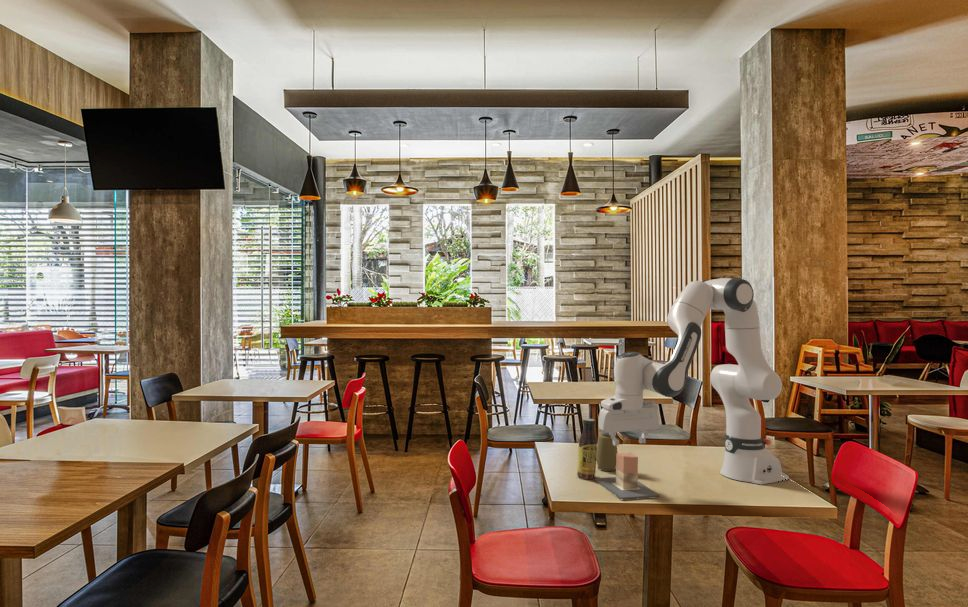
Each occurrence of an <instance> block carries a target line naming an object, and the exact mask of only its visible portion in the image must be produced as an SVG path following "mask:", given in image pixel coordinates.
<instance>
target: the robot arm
mask: <svg viewBox="0 0 968 607" xmlns="http://www.w3.org/2000/svg"><path fill="white" fill-rule="evenodd" d="M754 296H755V295H754V289H753V287H752V284H751V283H750V282H749V281H748V280H746V279H744V278H738V277H733V278H730V277H720V278H714V279H704V280H701V281H700V280H693V281H690V282H689V283H688V284H686V285H685V287H684V288H683V289H682V290H681V291H680V292H679V294H678V296H677V297H676V299H675V300H674V302H673V304H672V305H671V307H670V309H669V311H668V314H667V317H666V319H667V324H668V326H669V328H670V330H672V331H673V332H674V333H675V334H676V335H677V337H678V338H677V343H676V345H675V348H674V350H673V353H672V355H671V357H670V359H669V360H668V362H666V363H661V362H656V361H654V360H651V359H649V358H647V357H645V356H644V355H642V354H641V353H640V352H637V351H625V352H623V353H621V354H619V355H618V356H617V357H616V361H615V368H614V380H615V390H614V395H613V396H611V397H610V396H609V397H607V398H605V399H603V400H601V402H600V406H601V407H602V408H601V409H600V410H599V413H598V429H599V431H600V432H601V431H602V432H604V433H609V434H610V436H611V438H612V439H613V445H614V446H617V447H619V446H620V440H619V439H618V438H617V437H616V438H615V436H617V433H623V432H624V433H625V432H636V431H637V432H638V431H641V432H642V434H641V436H639V437H638V443H639V444H641V445H642V444H643V445H644V444H646V439H647V437H648V435H649V431H650V430H658V428H659V427H660V419H659V413H658V412H659V411H658V410H659V405H658V404H657V402H655V401H654V400H644V390H648V391H649V392H653V393H657V394H660V395H661V396H664V397H667V398H674V397H676V396H678V395H679V394H681V393H682V391H683V389H684V388H685V386H686V382H687V378H688V372H689V368H690V367H691V364H692V361H693V359H694V356H695V353H696V352H697V350H698V346H699V344H700V341H701V339H702V338H701V337H702V329H701V327H702V324H703V322H704V320H705V318H706V316H707V315H708V313H709V311H710V310H714V311H715V310H716V311H722V312H723V313H724V332H725V349H726V351H727V352H728V353H729V354H730V355H732V356H733V357H734V359H735V361H736V362H737V364H732V363H726V364H724V363H723V364H718V365H716V366H714V367H713V369H712V370H711V372H710V375H709V382H710V384H711V386H712V387H713V388H714V389H715V391H716V392H717V394H718V395H719V397H720V400H721V401H722V403H723V406H724V411H725V425H726V428H725V430H726V431H725V433H724V454H723V455H724V456H723V460H722V461H723V462H722V465H721V469H720V471H719V472H720V474H721V475H722V476H724V477H726V478H728V479H731V480H735V481H740V482H747V483H753V484H756V485H766V484H767V485H768V484H772V483H778V481H779V482H784V481H789V480H790V476H789V475H788V474H786V473H785V472H783V471H782V464H781V462H780V459H778V458H777V456H775V455H774V454H772V453H771V452H770V451H769V450H767V448H766V446H770V445H772V441H771V439H768V438H762V435H761V434H762V417H761V414H760V413H759V411H758V410H756V409H755V408H754V406H753V405H752V404H751V401H750V399H752V400H757V401H772V400H776V399H777V398H778V397H779V395H780V394H781V393H782V389H783V382H782V379H781V377H780V375H779V374H778V373H777V372H775V371H774V370H773V368H772V367H771V366H770V365H769V364H768V362H767V359H766V358H765V355H764V353H763V349H762V344H761V343H762V342H761V331H760V330H761V326H760V318H759V313H758V312H759V310H758V307H757V304H756V301H755V300H754V299H755V298H754ZM781 475H782V476H781ZM783 476H784V477H783ZM786 478H787V479H786ZM784 479H786V480H784ZM788 479H789V480H788ZM782 480H783V481H782Z"/></svg>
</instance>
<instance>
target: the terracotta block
mask: <svg viewBox="0 0 968 607" xmlns="http://www.w3.org/2000/svg"><path fill="white" fill-rule="evenodd" d="M616 469H617V470H619V471H621V472H622V473H638V472H639V471H638V470H639V456H637V455H636V454H633V453H631V452H617V453H616V468H615V470H616ZM638 474H639V473H638Z"/></svg>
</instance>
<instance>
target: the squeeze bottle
mask: <svg viewBox="0 0 968 607" xmlns="http://www.w3.org/2000/svg"><path fill="white" fill-rule="evenodd" d="M614 436H615V438H616V439H617V435H614ZM596 443H597V452H596V466H597V468H598V469H599V470H600V469H601V471H604V472H612V471H616V453H618V446H614V445H613V439H612V438H611V436H610V434H609V433H604V432H602V431H601V430H600V434H598V437H597V442H596Z"/></svg>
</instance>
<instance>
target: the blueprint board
mask: <svg viewBox="0 0 968 607" xmlns="http://www.w3.org/2000/svg"><path fill="white" fill-rule="evenodd" d="M595 481H596V482H597V483H598V484H599V483H600V484H599V485H601V486H602V487H603V488H605V489H606V490H608V492H610V493H611V492H612V493H613V494H612V493H611V494H612V495H614V494H615V495H616V496H617V497H616V496H615V495H614V496H615V497H616V498H618V497H619V498H620V499H633V500H638V499H637V498H647V499H650V498H649V497H660V494H658V492H656V491H654V490H652V488H650V487H648V486H646V485H645V484H643V483H642V482H641V481H639V480H638V484H637V488H633V489H622V488H621V487H620V486H618V485H617V484H616V476H612V477H611V476H610V477H595ZM619 498H618V499H619ZM620 499H619V500H620Z"/></svg>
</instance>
